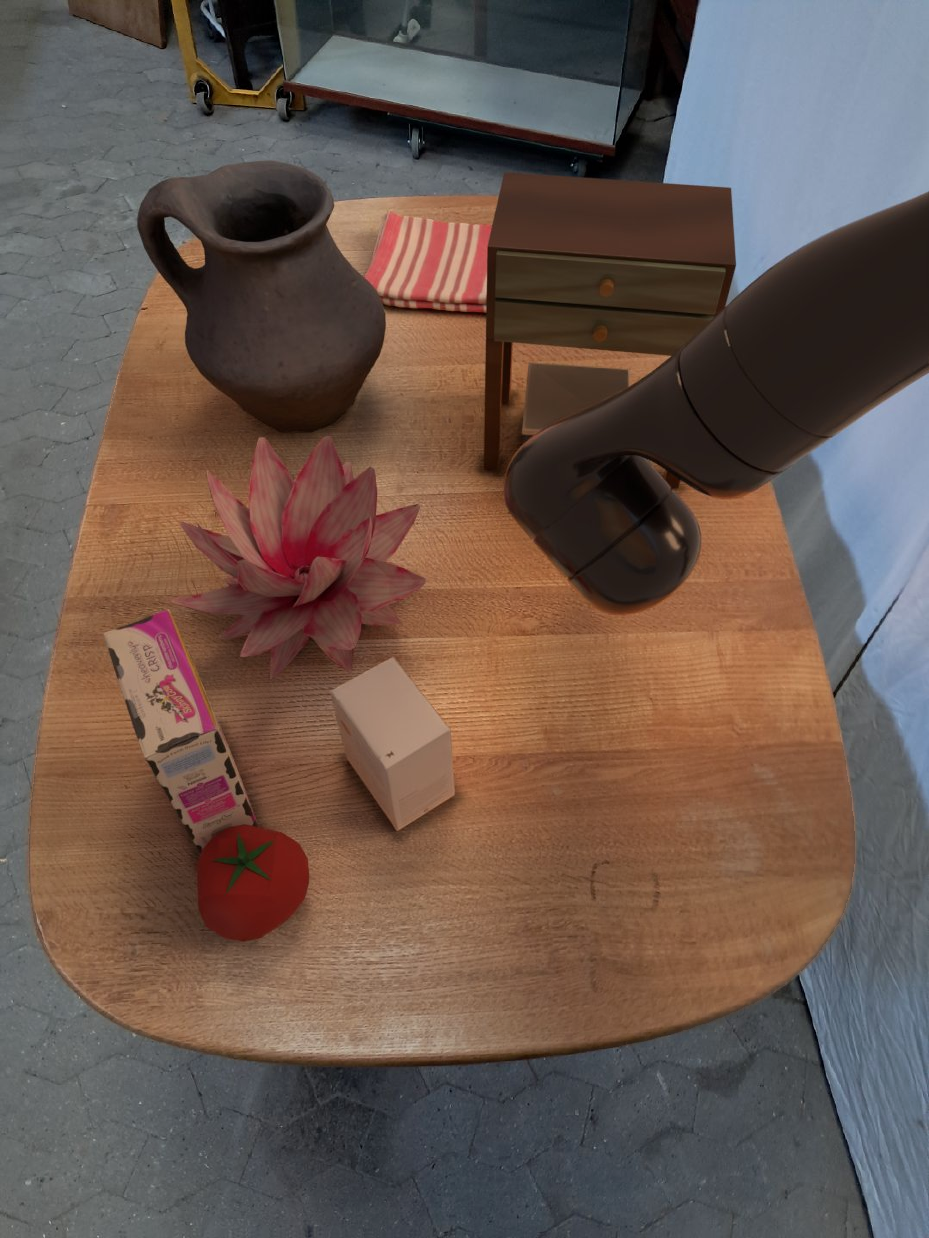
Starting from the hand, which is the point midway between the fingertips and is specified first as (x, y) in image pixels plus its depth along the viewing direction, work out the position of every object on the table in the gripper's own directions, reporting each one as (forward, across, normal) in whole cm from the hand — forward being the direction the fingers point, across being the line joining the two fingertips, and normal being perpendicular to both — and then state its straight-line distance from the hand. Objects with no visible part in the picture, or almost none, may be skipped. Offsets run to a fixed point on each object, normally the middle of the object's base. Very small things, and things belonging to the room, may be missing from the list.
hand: (585, 504), depth 79 cm
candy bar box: (-13, +27, +25) cm, 39 cm away
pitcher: (+19, +32, -7) cm, 39 cm away
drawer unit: (+18, 0, -6) cm, 20 cm away
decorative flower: (0, +24, +12) cm, 27 cm away
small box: (-11, +13, +23) cm, 29 cm away
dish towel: (+39, +18, -26) cm, 50 cm away
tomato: (-19, +21, +31) cm, 42 cm away
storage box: (+17, +2, -5) cm, 18 cm away
